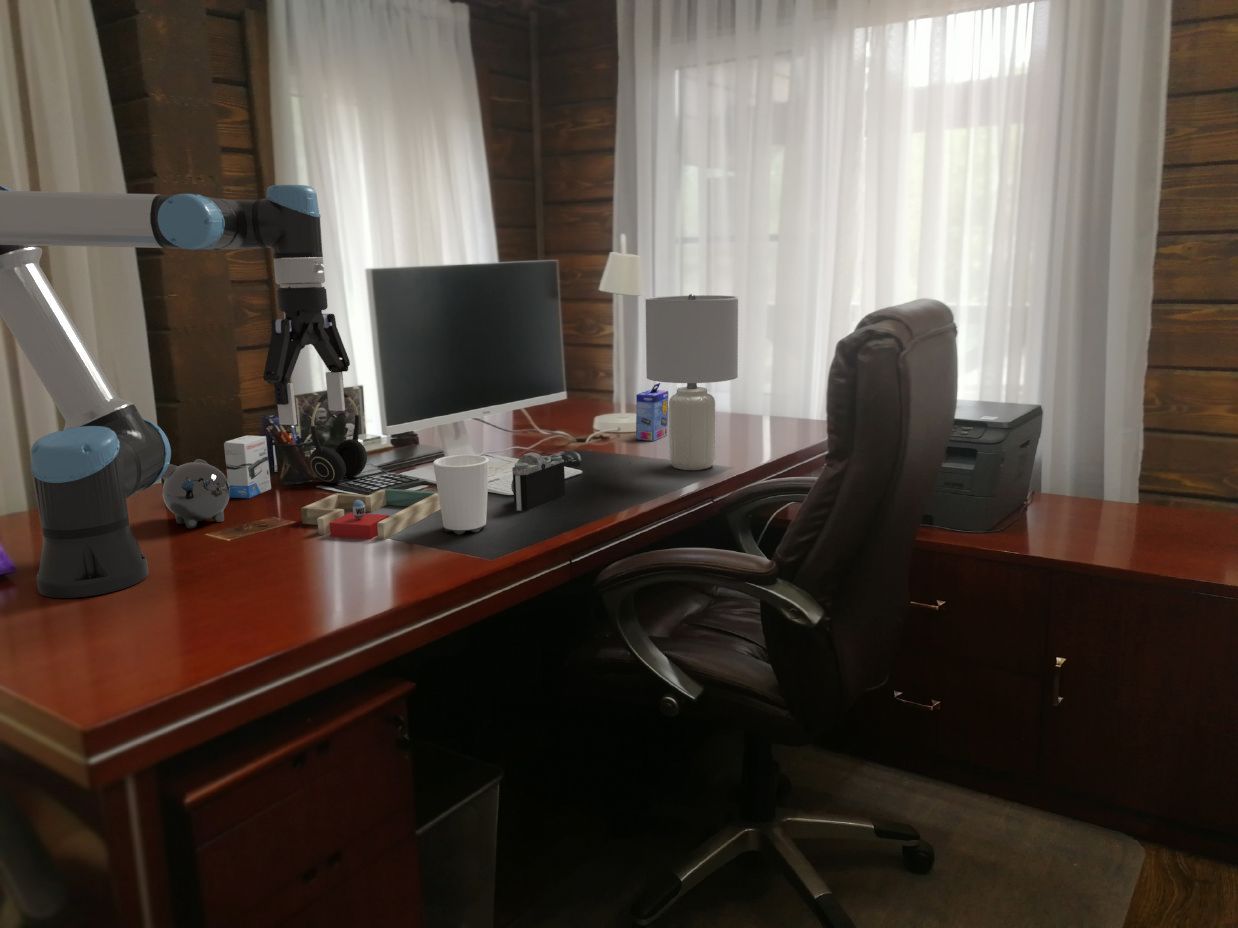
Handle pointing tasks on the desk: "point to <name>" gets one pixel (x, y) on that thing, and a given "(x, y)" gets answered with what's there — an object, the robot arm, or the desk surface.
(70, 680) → the desk surface
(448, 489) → the cup
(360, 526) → the red rectangular block
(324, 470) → the headphones
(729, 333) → the lamp
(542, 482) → the camera
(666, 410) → the ink cartridge box
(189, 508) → the piggy bank
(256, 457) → the ink box
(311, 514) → the channel
